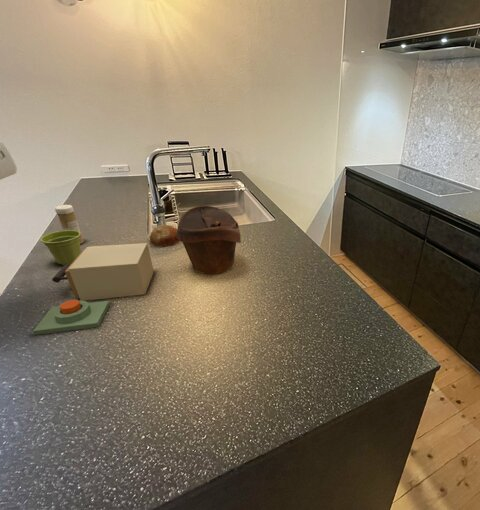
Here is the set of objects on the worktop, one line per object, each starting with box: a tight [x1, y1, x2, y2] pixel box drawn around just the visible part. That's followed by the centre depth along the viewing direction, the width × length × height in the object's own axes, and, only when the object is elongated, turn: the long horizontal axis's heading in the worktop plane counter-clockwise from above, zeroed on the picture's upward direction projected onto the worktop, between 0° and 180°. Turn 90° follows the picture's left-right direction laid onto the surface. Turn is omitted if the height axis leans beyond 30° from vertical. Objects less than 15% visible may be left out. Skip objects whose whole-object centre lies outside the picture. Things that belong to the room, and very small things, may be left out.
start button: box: [59, 299, 81, 314], centre depth 72 cm, size 4×4×2 cm
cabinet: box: [69, 242, 155, 302], centre depth 85 cm, size 15×13×10 cm
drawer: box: [51, 250, 84, 298], centre depth 84 cm, size 18×12×8 cm, turn 109°
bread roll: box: [149, 224, 180, 247], centre depth 113 cm, size 10×10×8 cm
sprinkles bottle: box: [54, 204, 85, 245], centre depth 104 cm, size 5×5×14 cm
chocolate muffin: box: [176, 205, 242, 275], centre depth 97 cm, size 18×20×18 cm
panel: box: [32, 299, 111, 336], centre depth 73 cm, size 12×9×3 cm
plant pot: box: [39, 229, 82, 266], centre depth 95 cm, size 9×9×9 cm
